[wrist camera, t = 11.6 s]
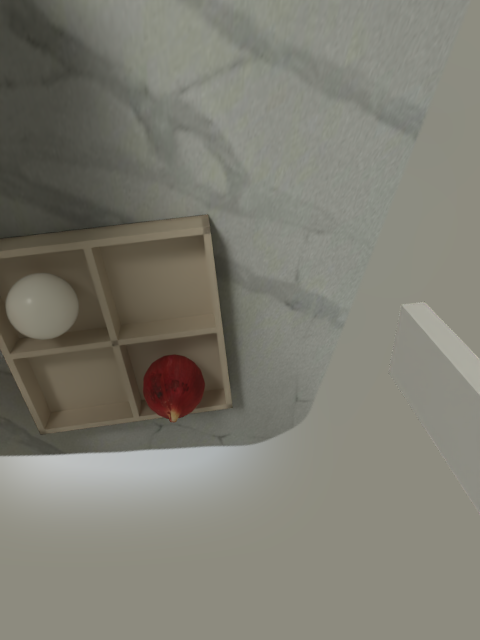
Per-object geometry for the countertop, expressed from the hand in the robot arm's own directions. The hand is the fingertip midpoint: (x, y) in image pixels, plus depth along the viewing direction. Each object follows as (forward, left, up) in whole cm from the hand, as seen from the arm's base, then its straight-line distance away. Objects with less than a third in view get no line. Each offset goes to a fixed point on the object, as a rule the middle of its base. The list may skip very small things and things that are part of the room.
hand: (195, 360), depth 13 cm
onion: (-4, -19, -25) cm, 31 cm away
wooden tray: (-9, -14, -25) cm, 30 cm away
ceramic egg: (-14, -9, -25) cm, 30 cm away
